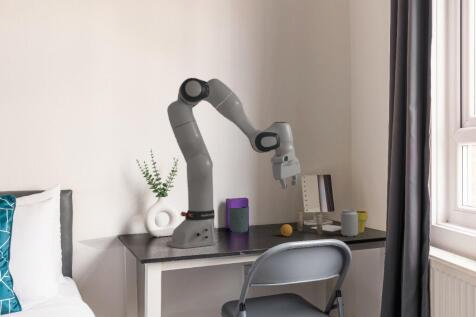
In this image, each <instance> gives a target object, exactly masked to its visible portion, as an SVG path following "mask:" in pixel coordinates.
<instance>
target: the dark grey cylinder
mask: <svg viewBox="0 0 476 317" xmlns="http://www.w3.org/2000/svg"><path fill="white" fill-rule="evenodd" d="M241 206H242V208H230V207H231V206H228V212H229V224H230V225H229V226H230V227H229V228H230V232H231V231H232V233H247V232H248V231H249V212H250V206H248V205H247V206H246V205H241Z"/></svg>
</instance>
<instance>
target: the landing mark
mask: <svg viewBox="0 0 476 317" xmlns="http://www.w3.org/2000/svg"><path fill="white" fill-rule="evenodd" d="M310 229H314V230H317V226H312V227H310ZM322 231H324V232H336V231H341V225H334V224H333V225H332V224H322Z"/></svg>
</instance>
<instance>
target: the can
mask: <svg viewBox="0 0 476 317" xmlns="http://www.w3.org/2000/svg"><path fill="white" fill-rule="evenodd" d="M356 210H357V209H349V208H348V209H347V208H346V209H342V210H341V211H342V212H341V213H340V224H341V225H340V226H341V230H340V232H341V234H340V235H342V236H343V237H345V236H348V237H347V238H354V237H353V236H355V237H357V235H358V234H359V233H358V213H357V212H356Z"/></svg>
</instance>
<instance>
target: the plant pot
mask: <svg viewBox="0 0 476 317" xmlns="http://www.w3.org/2000/svg"><path fill="white" fill-rule="evenodd" d="M355 210H356V212H357V213H358V234H360V233H365V227H366V223H367V220H368V218H369V214H368V213H369V212H368V211H366V210H360V209H359V210H357V209H355Z"/></svg>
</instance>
